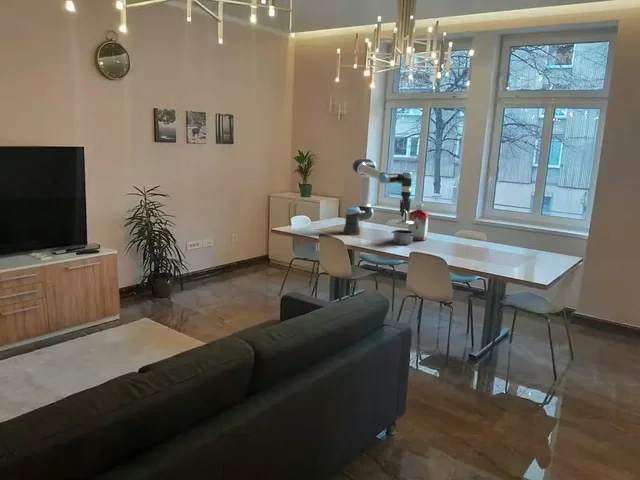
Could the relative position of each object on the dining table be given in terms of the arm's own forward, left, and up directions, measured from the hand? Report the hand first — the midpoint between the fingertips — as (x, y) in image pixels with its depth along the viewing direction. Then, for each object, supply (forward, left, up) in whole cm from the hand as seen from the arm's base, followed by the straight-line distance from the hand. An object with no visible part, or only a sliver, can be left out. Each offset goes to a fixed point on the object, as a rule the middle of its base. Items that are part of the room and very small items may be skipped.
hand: (404, 219), depth 417 cm
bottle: (+1, +22, -19) cm, 29 cm away
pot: (0, 0, -19) cm, 19 cm away
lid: (0, 0, -2) cm, 2 cm away
